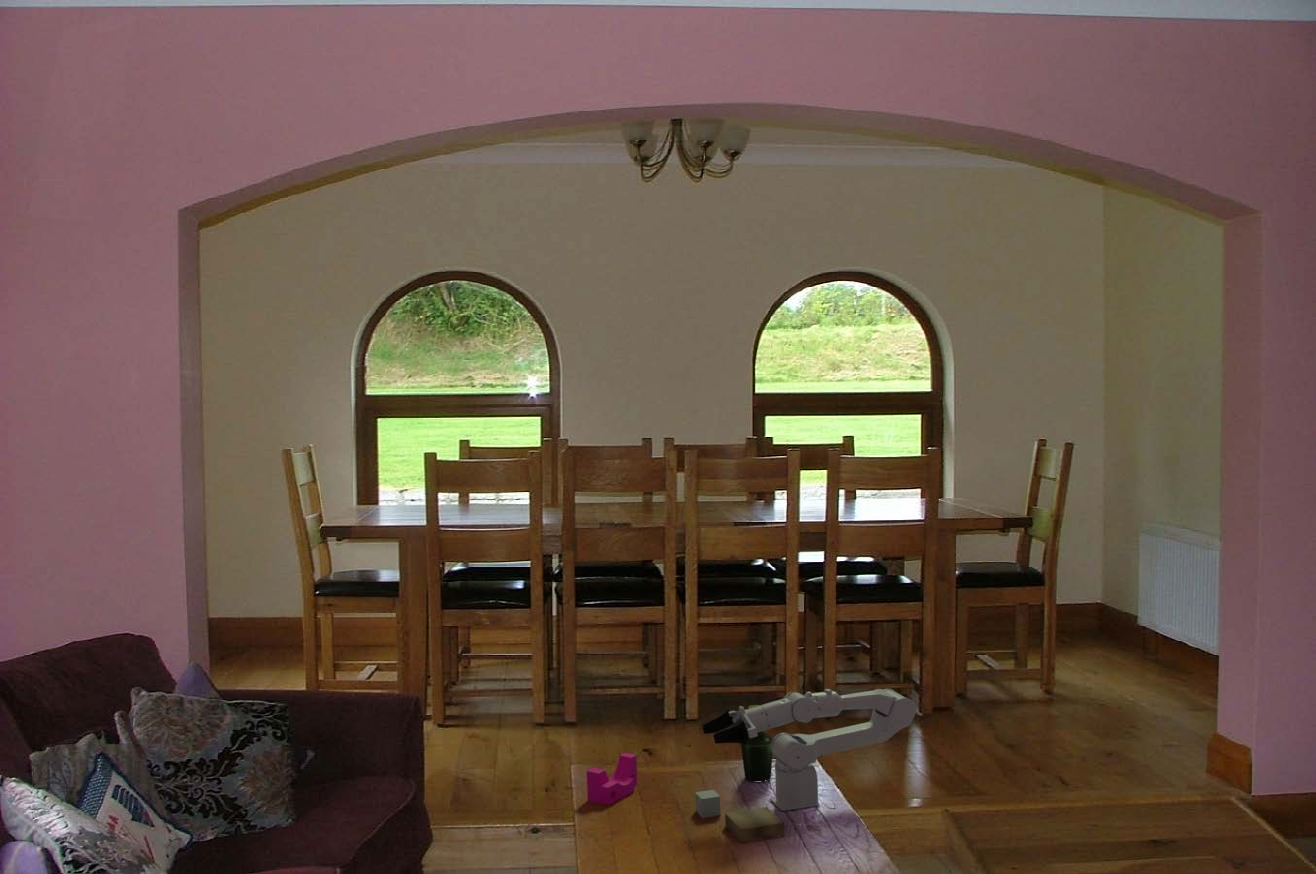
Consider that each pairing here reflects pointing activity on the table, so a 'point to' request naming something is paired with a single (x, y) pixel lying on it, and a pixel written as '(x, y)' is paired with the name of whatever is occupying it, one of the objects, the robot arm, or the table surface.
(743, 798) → the table surface
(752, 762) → the potion bottle
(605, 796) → the toy block
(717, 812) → the gray cube
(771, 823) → the base block
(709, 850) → the table surface
